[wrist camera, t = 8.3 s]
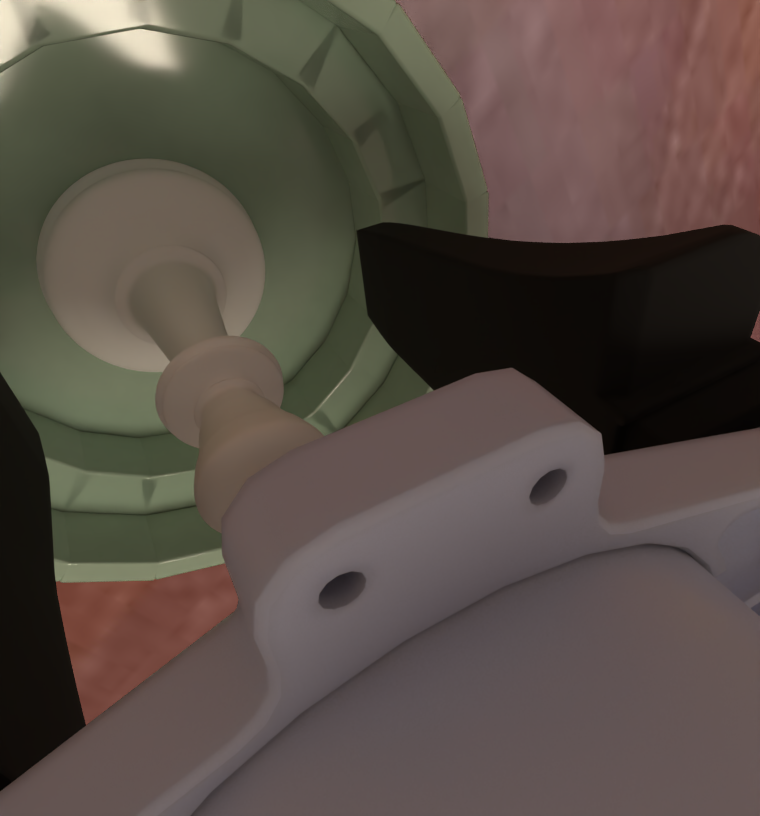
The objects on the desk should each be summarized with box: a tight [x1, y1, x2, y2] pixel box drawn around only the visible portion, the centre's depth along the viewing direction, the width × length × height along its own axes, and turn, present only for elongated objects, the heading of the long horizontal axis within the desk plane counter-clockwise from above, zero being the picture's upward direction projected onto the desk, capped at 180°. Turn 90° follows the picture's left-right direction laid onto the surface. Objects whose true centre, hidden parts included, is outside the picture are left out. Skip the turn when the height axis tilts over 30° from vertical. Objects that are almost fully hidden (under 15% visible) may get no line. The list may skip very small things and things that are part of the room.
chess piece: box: [36, 158, 324, 533], centre depth 11 cm, size 5×5×10 cm
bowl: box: [0, 0, 489, 583], centre depth 13 cm, size 13×13×4 cm
